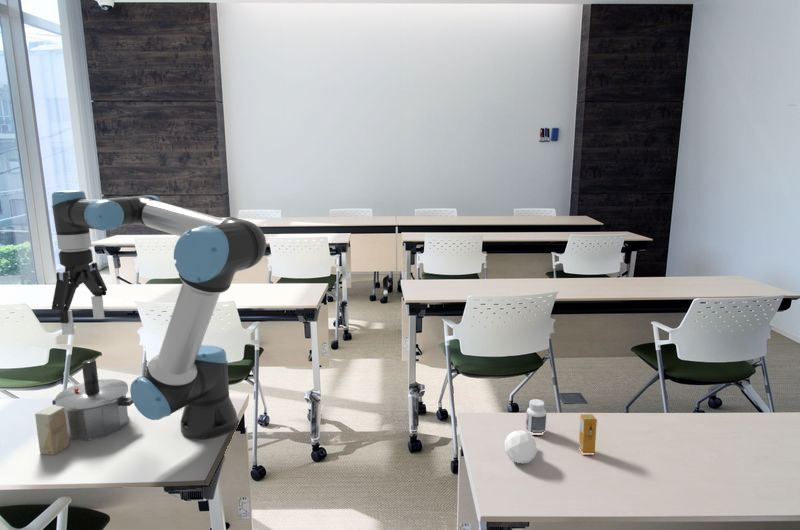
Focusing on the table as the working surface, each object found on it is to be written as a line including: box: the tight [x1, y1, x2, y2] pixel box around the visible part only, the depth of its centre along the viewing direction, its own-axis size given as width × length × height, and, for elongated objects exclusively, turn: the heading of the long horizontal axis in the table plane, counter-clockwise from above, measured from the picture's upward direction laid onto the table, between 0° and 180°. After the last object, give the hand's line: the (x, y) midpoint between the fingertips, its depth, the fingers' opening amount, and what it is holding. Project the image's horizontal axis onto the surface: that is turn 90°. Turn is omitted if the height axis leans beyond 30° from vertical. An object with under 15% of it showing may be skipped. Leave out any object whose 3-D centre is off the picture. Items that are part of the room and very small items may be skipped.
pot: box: [51, 394, 134, 441], centre depth 148 cm, size 22×16×9 cm
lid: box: [55, 359, 129, 411], centre depth 146 cm, size 18×18×10 cm
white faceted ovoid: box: [503, 429, 538, 464], centre depth 133 cm, size 8×8×12 cm
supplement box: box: [578, 413, 598, 454], centre depth 135 cm, size 3×3×10 cm
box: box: [34, 405, 70, 456], centre depth 136 cm, size 5×4×11 cm
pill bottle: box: [525, 398, 547, 433], centre depth 145 cm, size 5×5×9 cm
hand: (84, 326), depth 143 cm, fingers open, 13 cm apart
